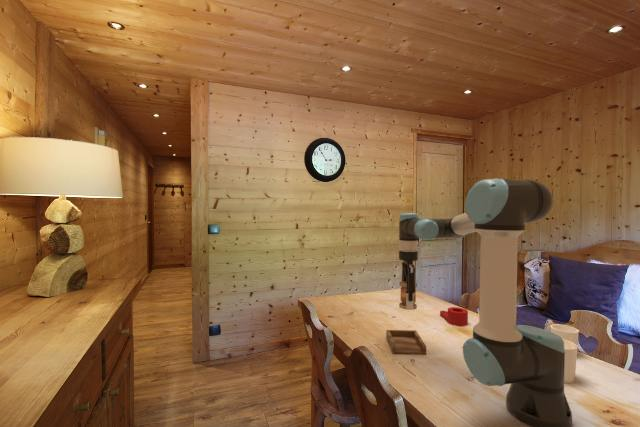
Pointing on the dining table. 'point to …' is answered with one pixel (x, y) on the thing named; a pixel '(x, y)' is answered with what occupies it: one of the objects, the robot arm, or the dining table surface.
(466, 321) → the red watering can
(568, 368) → the candle holder
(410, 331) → the wooden tray
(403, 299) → the bobbin
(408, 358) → the dining table surface
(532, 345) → the robot arm
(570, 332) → the mug
